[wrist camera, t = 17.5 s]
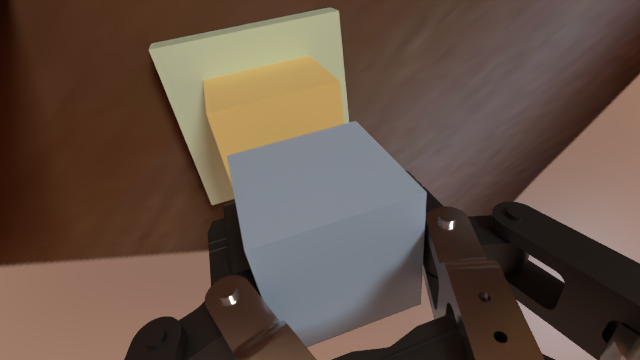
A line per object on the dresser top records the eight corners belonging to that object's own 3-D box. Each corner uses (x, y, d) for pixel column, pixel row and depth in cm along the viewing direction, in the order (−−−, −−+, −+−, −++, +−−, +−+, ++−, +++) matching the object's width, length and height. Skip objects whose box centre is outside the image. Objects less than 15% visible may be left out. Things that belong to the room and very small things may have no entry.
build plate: (329, 7, 20) (338, 10, 19) (345, 154, 26) (352, 164, 25) (151, 43, 18) (148, 49, 17) (210, 192, 24) (211, 205, 23)
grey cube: (355, 120, 13) (426, 192, 9) (363, 217, 16) (420, 304, 12) (226, 155, 12) (244, 250, 8) (259, 251, 15) (283, 356, 11)
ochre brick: (309, 55, 20) (339, 81, 16) (323, 146, 23) (351, 187, 19) (202, 80, 19) (206, 114, 15) (234, 171, 22) (244, 220, 18)
